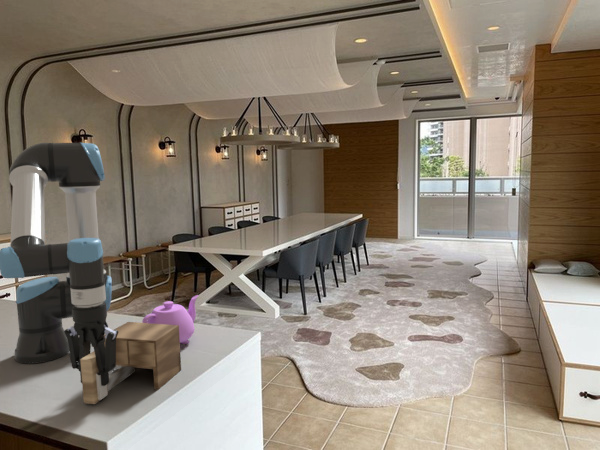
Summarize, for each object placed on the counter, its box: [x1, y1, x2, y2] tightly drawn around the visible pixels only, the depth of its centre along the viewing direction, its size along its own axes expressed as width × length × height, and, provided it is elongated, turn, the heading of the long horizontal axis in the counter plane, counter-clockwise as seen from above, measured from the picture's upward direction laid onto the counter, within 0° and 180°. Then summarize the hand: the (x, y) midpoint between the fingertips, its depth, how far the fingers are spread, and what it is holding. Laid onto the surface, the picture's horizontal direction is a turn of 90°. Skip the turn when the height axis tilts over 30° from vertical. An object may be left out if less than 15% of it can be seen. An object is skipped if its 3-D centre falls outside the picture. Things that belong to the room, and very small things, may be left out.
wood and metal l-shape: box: [80, 350, 135, 405], centre depth 120 cm, size 18×3×11 cm, turn 166°
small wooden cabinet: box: [104, 321, 182, 391], centre depth 127 cm, size 16×12×13 cm
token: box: [108, 365, 127, 380], centre depth 128 cm, size 6×6×2 cm
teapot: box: [141, 294, 199, 345], centre depth 152 cm, size 22×16×14 cm
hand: (96, 396), depth 114 cm, fingers closed on wood and metal l-shape, 3 cm apart
